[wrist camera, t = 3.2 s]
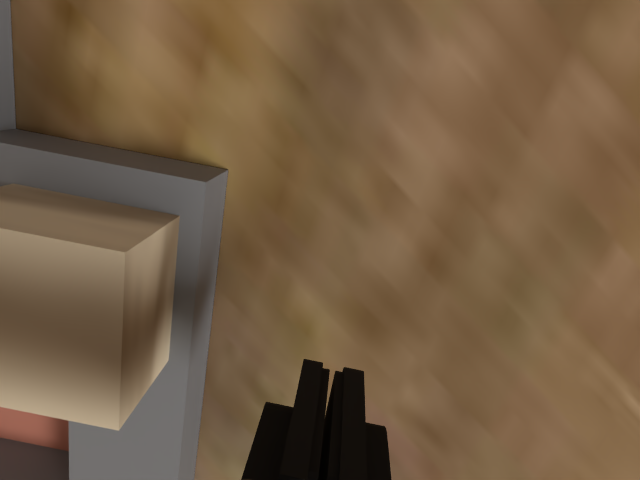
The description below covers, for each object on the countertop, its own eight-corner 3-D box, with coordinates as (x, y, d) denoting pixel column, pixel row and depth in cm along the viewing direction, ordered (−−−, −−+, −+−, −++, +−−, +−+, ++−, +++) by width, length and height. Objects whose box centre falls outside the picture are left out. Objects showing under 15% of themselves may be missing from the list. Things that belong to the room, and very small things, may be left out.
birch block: (13, 183, 14) (-93, 209, 11) (179, 216, 14) (125, 252, 11) (20, 330, 16) (-69, 392, 12) (168, 360, 16) (119, 430, 12)
